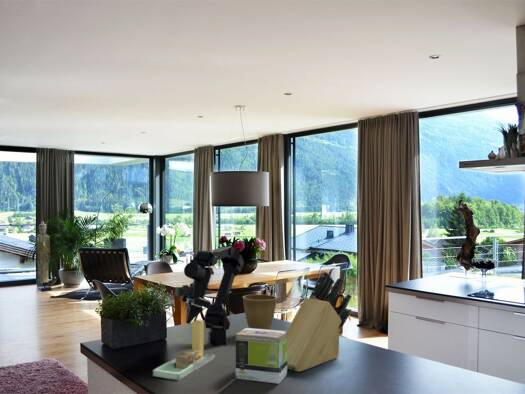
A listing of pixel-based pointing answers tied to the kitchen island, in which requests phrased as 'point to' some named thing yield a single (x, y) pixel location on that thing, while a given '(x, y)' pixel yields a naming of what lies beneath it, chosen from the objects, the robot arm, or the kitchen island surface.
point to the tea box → (261, 355)
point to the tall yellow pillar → (198, 336)
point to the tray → (172, 371)
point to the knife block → (317, 326)
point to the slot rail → (197, 361)
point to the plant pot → (259, 310)
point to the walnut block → (183, 360)
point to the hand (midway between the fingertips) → (187, 323)
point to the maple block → (193, 354)
